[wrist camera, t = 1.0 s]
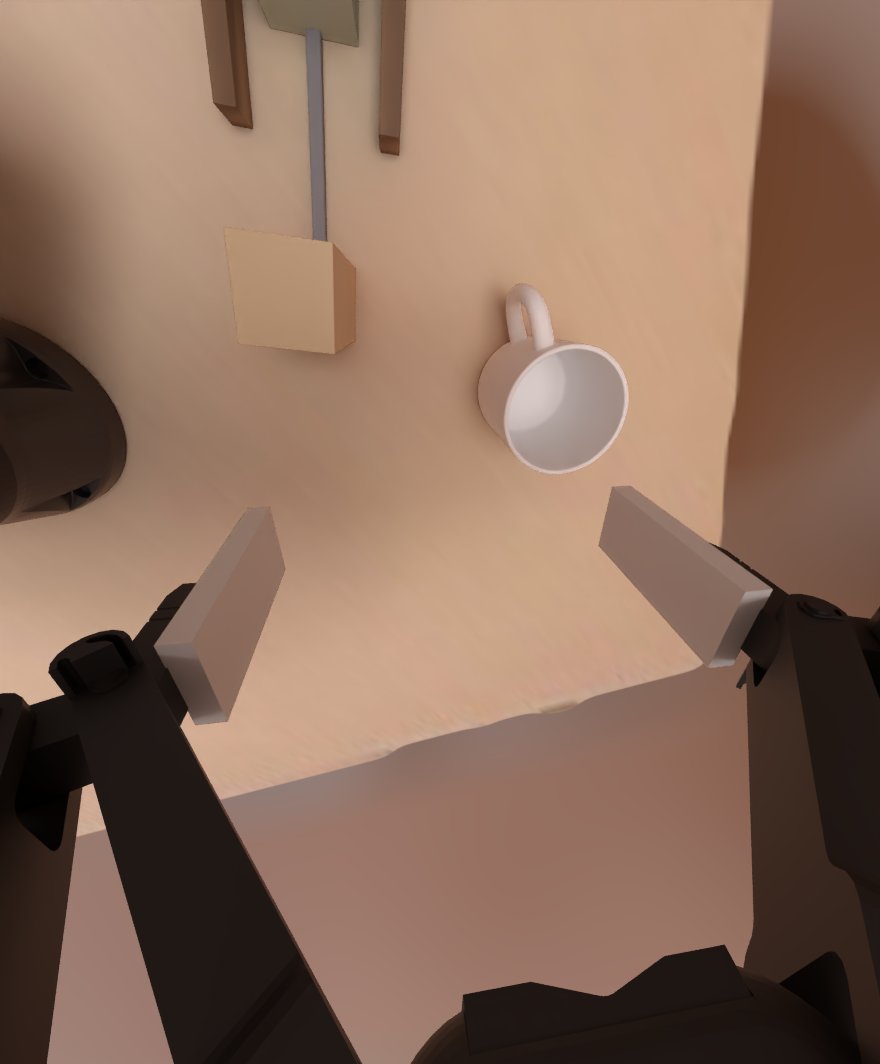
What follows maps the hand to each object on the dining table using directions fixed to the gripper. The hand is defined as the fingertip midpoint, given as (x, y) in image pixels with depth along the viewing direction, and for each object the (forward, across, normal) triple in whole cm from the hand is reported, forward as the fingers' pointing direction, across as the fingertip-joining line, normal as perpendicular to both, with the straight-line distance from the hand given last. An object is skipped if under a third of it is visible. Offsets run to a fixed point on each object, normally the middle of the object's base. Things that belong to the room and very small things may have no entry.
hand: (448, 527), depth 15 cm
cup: (+22, +9, +3) cm, 24 cm away
